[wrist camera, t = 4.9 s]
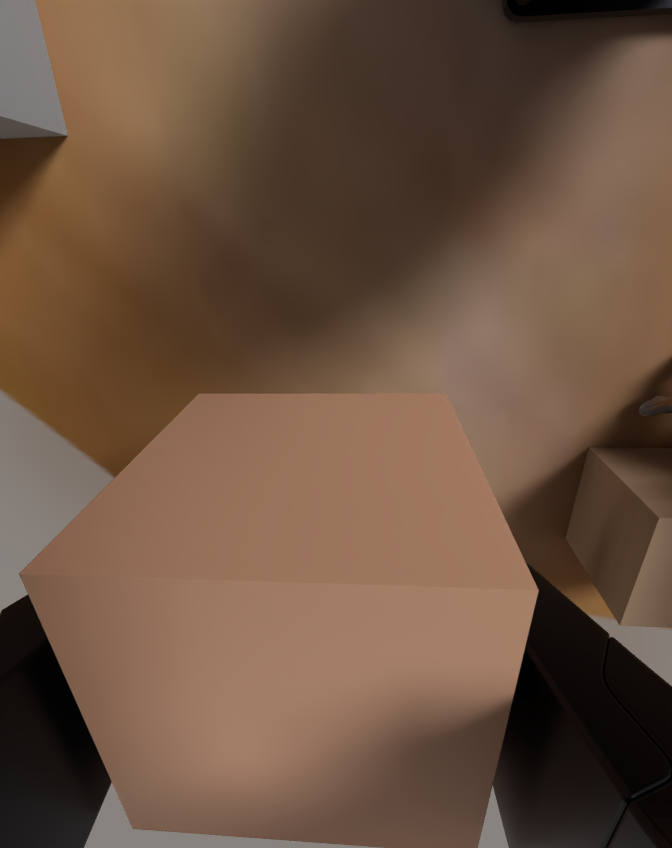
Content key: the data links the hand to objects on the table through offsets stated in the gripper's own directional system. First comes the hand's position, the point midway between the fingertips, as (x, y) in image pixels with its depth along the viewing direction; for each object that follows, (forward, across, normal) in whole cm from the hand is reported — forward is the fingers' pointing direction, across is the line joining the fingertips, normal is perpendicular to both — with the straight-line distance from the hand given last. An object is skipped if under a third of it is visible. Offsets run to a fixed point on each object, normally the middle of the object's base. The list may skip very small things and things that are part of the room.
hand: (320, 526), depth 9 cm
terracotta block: (+1, 0, 0) cm, 1 cm away
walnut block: (+10, -13, +6) cm, 17 cm away
